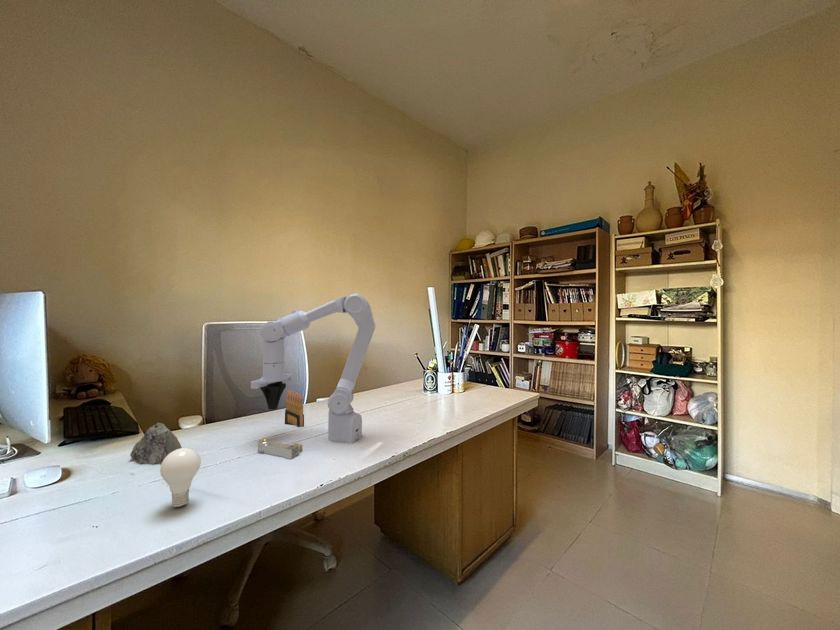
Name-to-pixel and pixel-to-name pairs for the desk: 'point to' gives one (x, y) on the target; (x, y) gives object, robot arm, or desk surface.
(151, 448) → the mineral rock
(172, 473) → the lightbulb
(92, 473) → the desk surface
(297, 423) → the ammunition clip
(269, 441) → the swing bar
